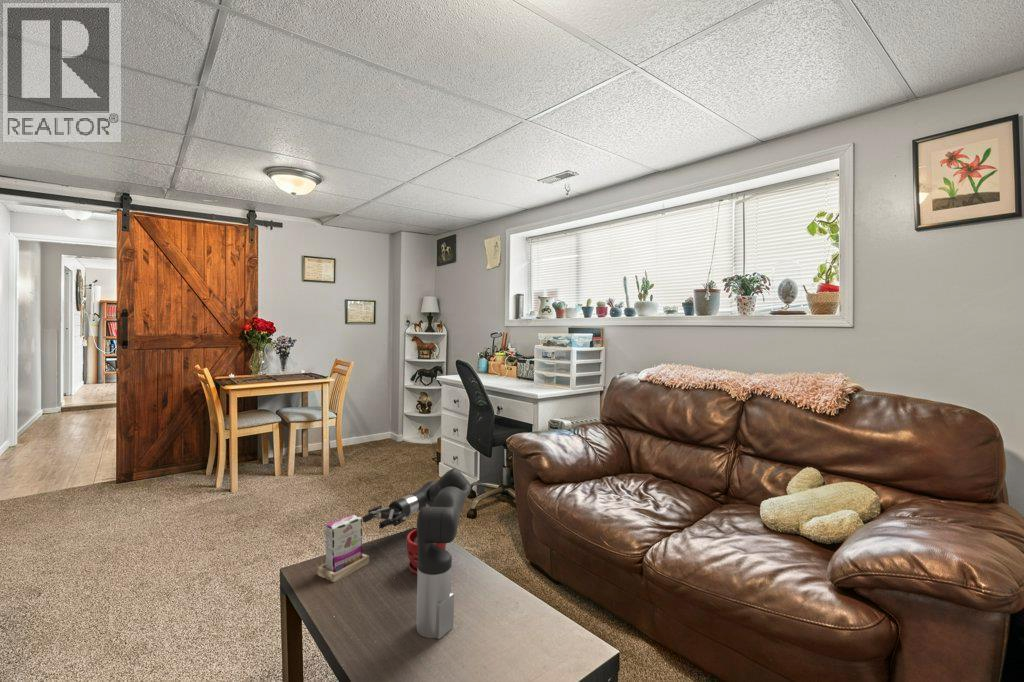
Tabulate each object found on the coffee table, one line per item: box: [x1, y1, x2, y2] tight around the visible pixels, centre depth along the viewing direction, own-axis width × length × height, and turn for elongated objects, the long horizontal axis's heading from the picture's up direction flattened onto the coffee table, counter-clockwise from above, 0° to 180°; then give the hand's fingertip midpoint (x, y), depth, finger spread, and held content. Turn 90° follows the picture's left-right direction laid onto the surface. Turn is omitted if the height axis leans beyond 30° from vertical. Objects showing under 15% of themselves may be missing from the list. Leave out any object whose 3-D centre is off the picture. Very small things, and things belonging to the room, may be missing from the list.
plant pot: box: [406, 528, 447, 575], centre depth 160 cm, size 13×13×12 cm
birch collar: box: [316, 552, 370, 583], centre depth 159 cm, size 8×14×2 cm, turn 149°
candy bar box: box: [324, 514, 363, 573], centre depth 159 cm, size 11×5×16 cm, turn 143°
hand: (371, 522), depth 170 cm, fingers open, 8 cm apart
